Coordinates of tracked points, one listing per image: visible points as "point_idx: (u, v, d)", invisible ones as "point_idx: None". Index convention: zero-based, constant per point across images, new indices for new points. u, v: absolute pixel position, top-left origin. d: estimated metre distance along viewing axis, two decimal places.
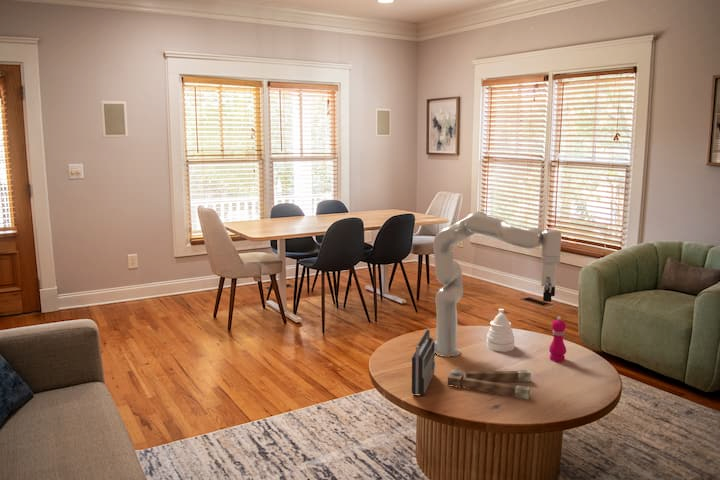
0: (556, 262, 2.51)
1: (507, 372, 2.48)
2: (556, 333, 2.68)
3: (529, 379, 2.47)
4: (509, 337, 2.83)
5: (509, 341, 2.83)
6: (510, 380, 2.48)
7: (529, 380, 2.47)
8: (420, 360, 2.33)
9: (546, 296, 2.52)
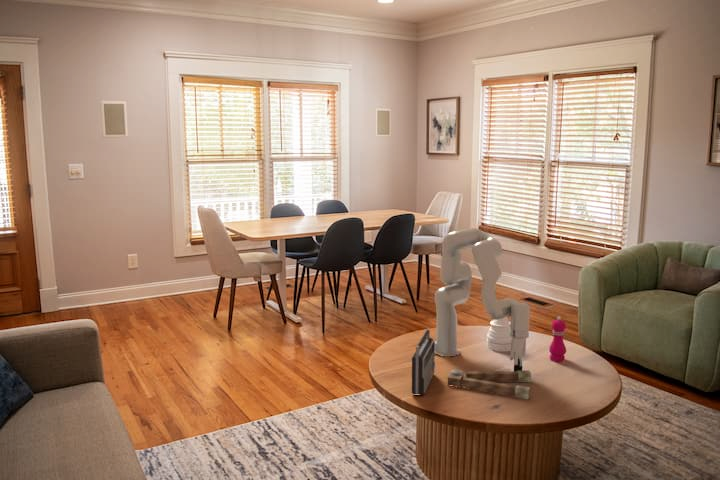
0: (524, 336, 2.46)
1: (507, 372, 2.48)
2: (556, 333, 2.68)
3: (529, 379, 2.47)
4: (509, 337, 2.83)
5: (509, 341, 2.83)
6: (510, 380, 2.47)
7: (529, 380, 2.47)
8: (420, 360, 2.33)
9: (516, 370, 2.50)
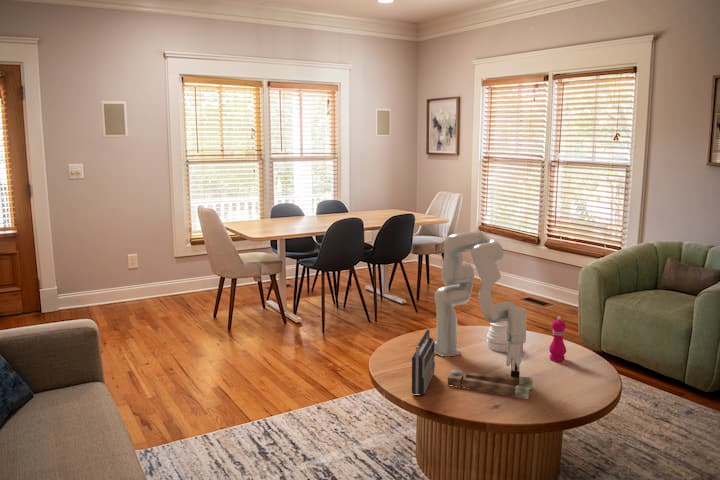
0: (522, 341, 2.39)
1: (508, 377, 2.43)
2: (556, 333, 2.68)
3: (530, 387, 2.40)
4: None
5: None
6: None
7: (530, 388, 2.40)
8: (420, 360, 2.33)
9: (513, 376, 2.44)
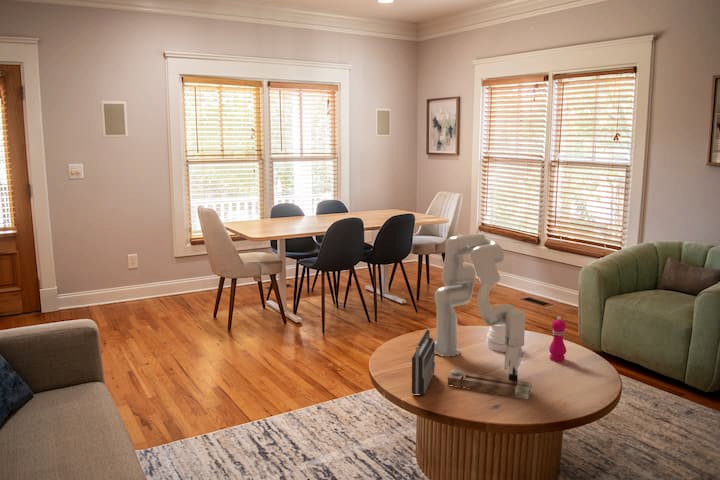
0: (520, 345, 2.36)
1: (507, 381, 2.40)
2: (556, 333, 2.68)
3: None
4: None
5: None
6: None
7: None
8: (420, 360, 2.33)
9: (511, 379, 2.41)
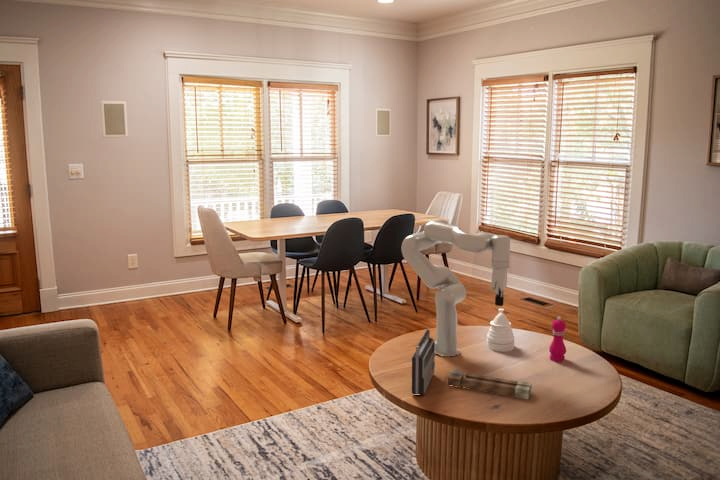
0: (505, 267, 2.56)
1: (507, 381, 2.40)
2: (556, 333, 2.68)
3: None
4: (509, 337, 2.83)
5: (509, 341, 2.83)
6: None
7: None
8: (420, 360, 2.33)
9: (498, 300, 2.61)
